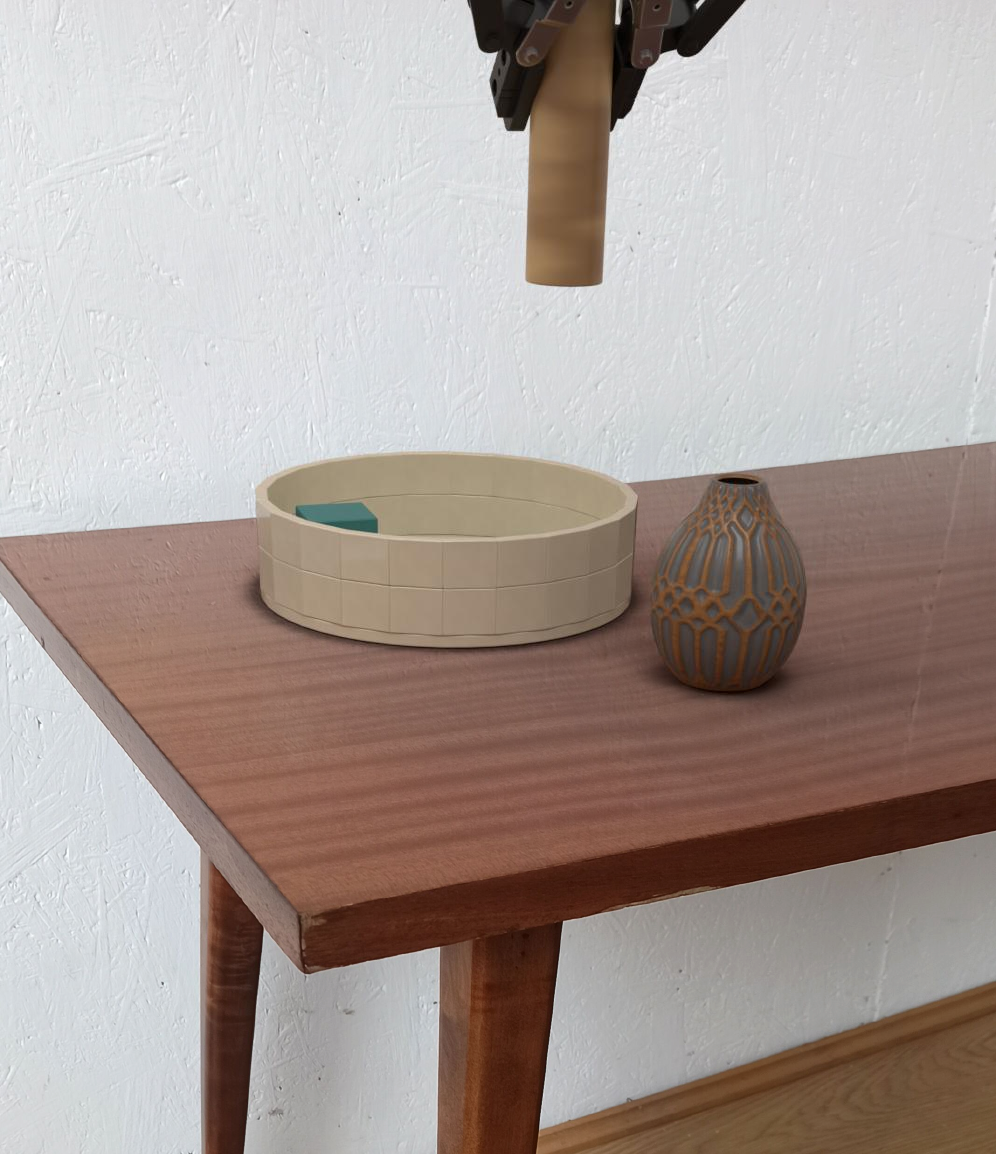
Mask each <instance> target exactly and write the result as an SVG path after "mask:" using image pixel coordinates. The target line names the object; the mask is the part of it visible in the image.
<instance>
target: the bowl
mask: <svg viewBox="0 0 996 1154" xmlns="http://www.w3.org/2000/svg"><path fill="white" fill-rule="evenodd" d="M254 491H255V492H254V494H255V514H256V516H255V517H256V531H257V551H258V552H257V553H258V554H257V555H258V574H259V592H260V595H261V598H262V601H263V603H264V604H265V605H266V606H267V607H268V609H270V610H271V611H272V612H274V614H276V615H277V616H279V617H282V618H283V619H285V620H287V621H289V622H291V623H294V624H297V625H299V626H301V627H303V628H307V629H309V630H313V631H317V632H320V633H323V634H328V635H332V636H336V637H341V638H344V639H350V640H356V641H362V642H368V643H376V644H384V645H391V646H392V645H393V646H402V647H403V646H405V647H415V648H417V647H420V648H443V649H445V648H447V649H449V648H450V649H453V648H454V649H455V648H456V649H457V648H458V649H459V648H460V649H461V648H463V649H464V648H466V649H468V648H470V649H471V648H493V647H504V646H505V647H506V646H517V645H525V644H534V643H540V642H546V641H553V640H558V639H562V638H567V637H570V636H575V635H579V634H581V633H585V632H587V631H591V630H595V629H597V628H599V627H601V626H605V625H606V624H609V622H612V621H614V620H616V619H617V618H618V617H620V616H621V615H622V614H623V613H624V612H625V611H626V610H627V609H628V608H629V605H630V603H631V600H632V588H633V584H634V571H635V569H634V568H635V553H636V537H637V521H638V506H639V496H638V494H637V493H636V492H635V491H634V490H633V489H632V487H631V486H630V485H629V484H627V483H625V482H623V481H621V480H618V479H617V478H615V477H613V476H611V475H609V474H606V473H604V472H600V471H596V470H593V469H589V468H587V467H584V466H583V467H582V466H579V465H576V464H571V463H566V462H560V461H555V460H550V459H544V458H538V457H530V456H521V455H520V456H519V455H511V454H504V453H503V454H502V453H492V452H491V453H489V452H469V451H453V450H452V451H451V450H449V451H448V450H445V451H444V450H441V451H432V450H431V451H426V450H425V451H393V452H380V453H379V452H378V453H364V454H355V455H349V456H340V457H333V458H326V459H320V460H315V461H311V462H307V463H303V464H299V465H295V466H291V467H288V468H286V469H284V470H281V471H279V472H276V473H274V474H272V475H269V476H267V477H265V478H264V479H263V480H262V481H261V482H260V483H259V484H258V485H257V486H256V487H255V488H254ZM356 502H361V503H363V504H364V505H365V506H366V507H367V508H368V509H369V510H370V511H371V512H372V513H373V514H374V516H375V517H376V518H377V519H378V534H377V533H369V532H361V531H354V530H346V529H342V528H338V527H333V526H329V525H324V524H320V523H315V522H311V521H307V520H305V519H302V518H299V517H297V516H296V509H295V507H296V506H297V505H316V504H336V503H356Z"/></svg>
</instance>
